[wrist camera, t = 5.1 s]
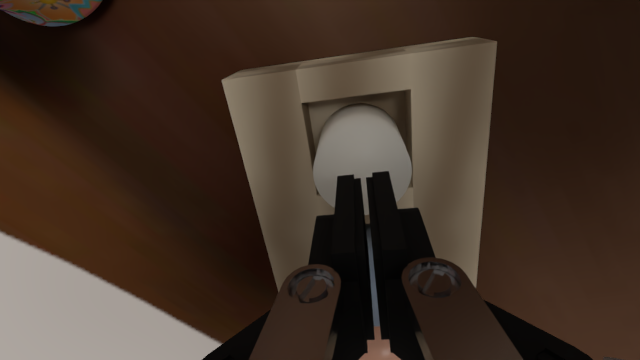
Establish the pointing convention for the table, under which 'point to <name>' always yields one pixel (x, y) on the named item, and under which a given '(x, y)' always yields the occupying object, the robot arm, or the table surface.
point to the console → (412, 122)
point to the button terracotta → (378, 348)
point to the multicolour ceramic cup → (49, 10)
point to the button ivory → (360, 151)
